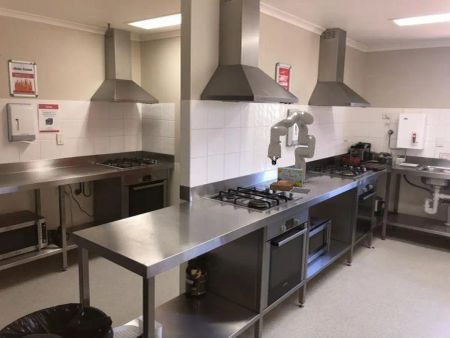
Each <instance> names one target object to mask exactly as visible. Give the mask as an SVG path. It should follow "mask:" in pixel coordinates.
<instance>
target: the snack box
mask: <svg viewBox="0 0 450 338" xmlns="http://www.w3.org/2000/svg"><path fill="white" fill-rule="evenodd" d="M276 177H277V178H276V180H277V181H276V182H279V181H280V180H284V181H288V183H291V184H293V188H301V189H302V187H303V185H304V183H303V169H295V167H292V168H291V167H283V166H282V167H281V166H279V167H277V176H276Z"/></svg>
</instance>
